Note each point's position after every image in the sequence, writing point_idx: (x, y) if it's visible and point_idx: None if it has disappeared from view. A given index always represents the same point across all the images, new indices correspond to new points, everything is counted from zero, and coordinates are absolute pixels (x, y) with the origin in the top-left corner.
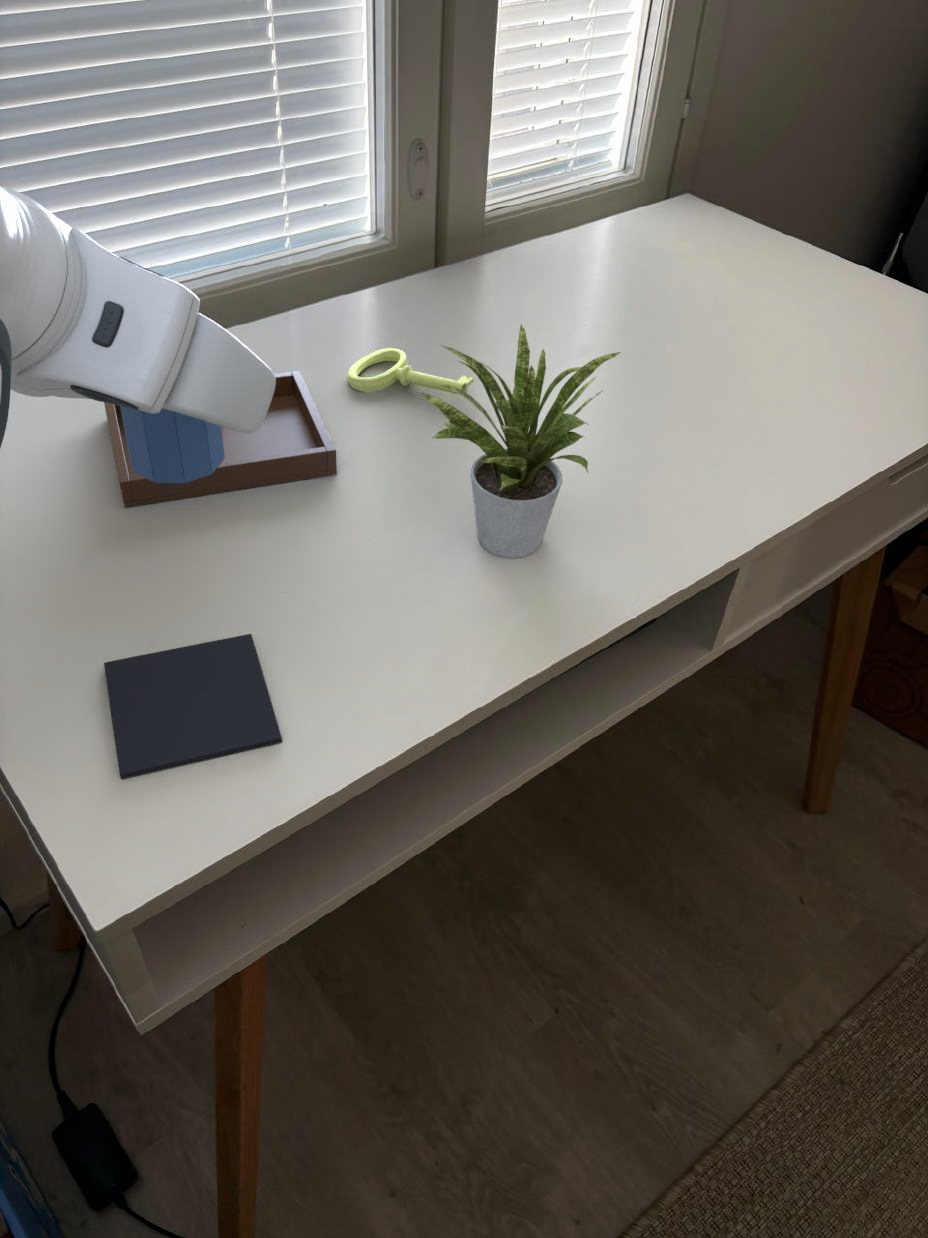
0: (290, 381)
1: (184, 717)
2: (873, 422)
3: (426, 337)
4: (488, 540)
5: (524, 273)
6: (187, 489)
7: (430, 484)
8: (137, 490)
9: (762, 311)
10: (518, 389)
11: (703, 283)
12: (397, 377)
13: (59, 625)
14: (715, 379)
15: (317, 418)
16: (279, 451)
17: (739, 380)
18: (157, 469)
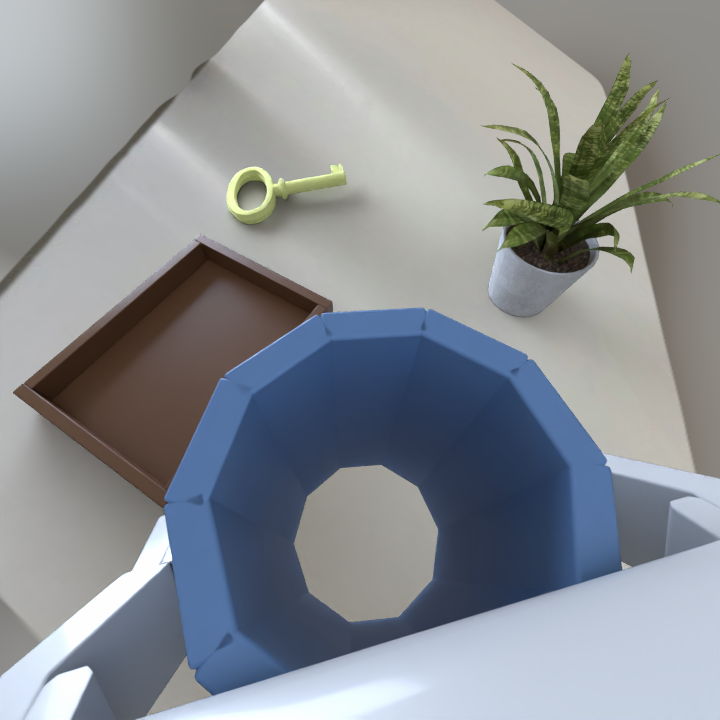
0: (201, 250)
1: None
2: (568, 79)
3: (250, 146)
4: (528, 309)
5: (257, 62)
6: None
7: (410, 281)
8: None
9: (426, 31)
10: (553, 146)
11: (372, 25)
12: (277, 194)
13: None
14: (463, 90)
15: (276, 277)
16: (263, 330)
17: (475, 84)
18: None
